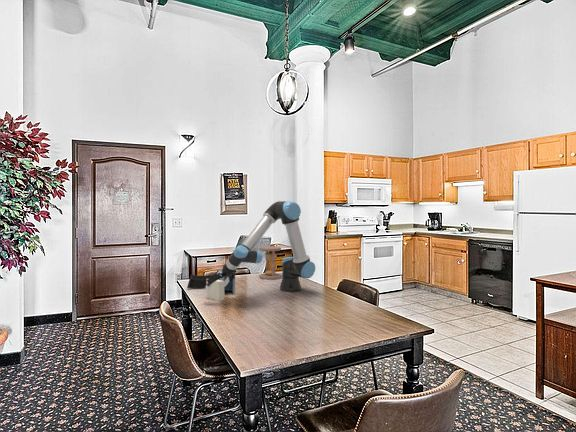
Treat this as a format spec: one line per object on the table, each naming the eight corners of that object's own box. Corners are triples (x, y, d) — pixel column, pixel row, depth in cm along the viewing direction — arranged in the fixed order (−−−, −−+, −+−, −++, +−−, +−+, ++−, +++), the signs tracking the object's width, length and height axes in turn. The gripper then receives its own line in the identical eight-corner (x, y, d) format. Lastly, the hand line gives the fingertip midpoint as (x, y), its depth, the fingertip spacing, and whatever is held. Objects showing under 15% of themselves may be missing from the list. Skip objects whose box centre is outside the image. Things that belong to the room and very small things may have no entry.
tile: (224, 299, 230) (224, 281, 230) (219, 301, 227) (219, 281, 227) (211, 296, 239) (211, 278, 238) (206, 297, 236) (206, 279, 235)
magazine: (183, 277, 256) (224, 262, 265) (183, 276, 259) (224, 262, 268) (191, 300, 258) (231, 284, 267) (190, 298, 261) (230, 284, 270)
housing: (235, 294, 245) (235, 272, 244) (222, 295, 242) (222, 273, 242) (231, 289, 258) (231, 269, 257) (219, 290, 255) (219, 269, 255)
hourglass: (258, 276, 308) (258, 246, 307) (278, 275, 312) (278, 245, 311) (261, 280, 291) (261, 248, 290) (282, 279, 295) (283, 248, 294)
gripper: (217, 273, 209) (201, 295, 220) (249, 268, 228) (233, 288, 238) (211, 263, 213) (196, 285, 223) (243, 258, 232) (228, 279, 242)
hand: (215, 286), depth 231 cm, fingers open, 13 cm apart
